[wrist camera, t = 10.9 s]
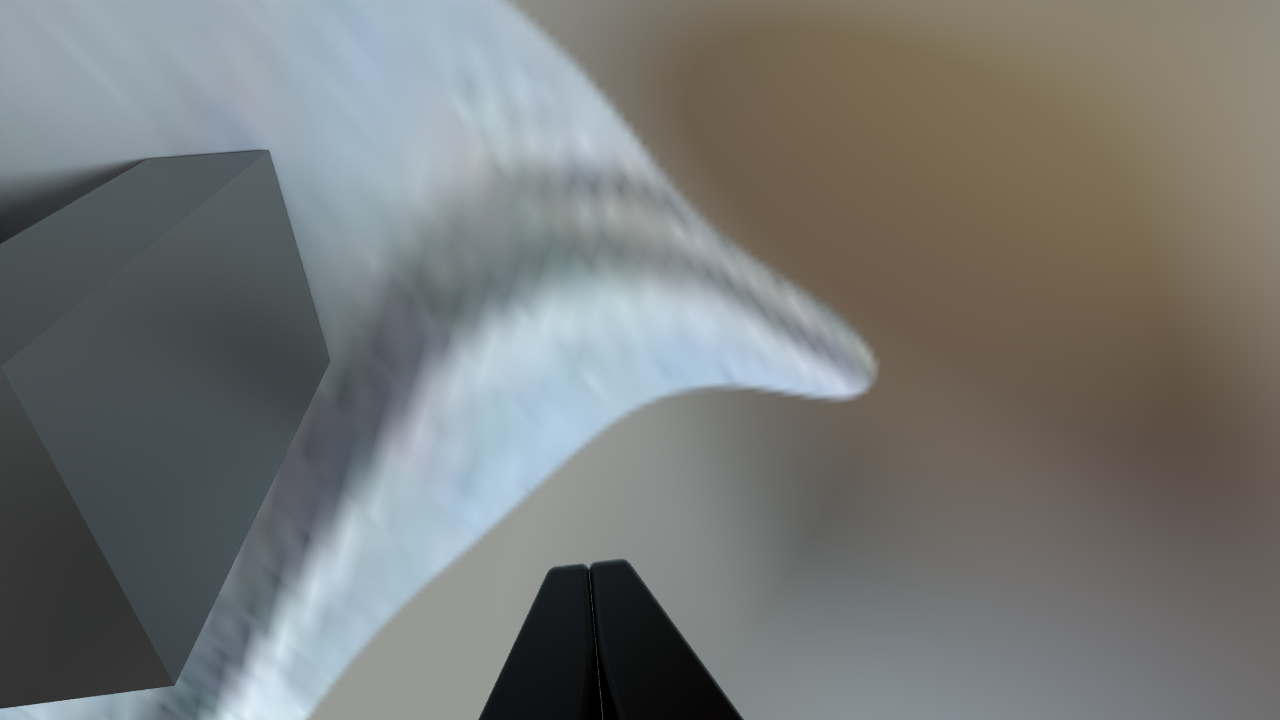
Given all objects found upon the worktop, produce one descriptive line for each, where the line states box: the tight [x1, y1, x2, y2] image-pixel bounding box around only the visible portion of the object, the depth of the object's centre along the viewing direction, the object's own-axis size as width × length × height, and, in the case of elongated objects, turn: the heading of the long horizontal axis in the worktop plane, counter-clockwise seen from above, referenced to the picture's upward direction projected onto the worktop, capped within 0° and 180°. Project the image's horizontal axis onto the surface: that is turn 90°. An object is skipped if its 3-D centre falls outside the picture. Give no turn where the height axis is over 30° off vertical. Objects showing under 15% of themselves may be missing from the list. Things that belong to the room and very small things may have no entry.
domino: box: [0, 150, 330, 709], centre depth 13 cm, size 2×5×9 cm, turn 3°
